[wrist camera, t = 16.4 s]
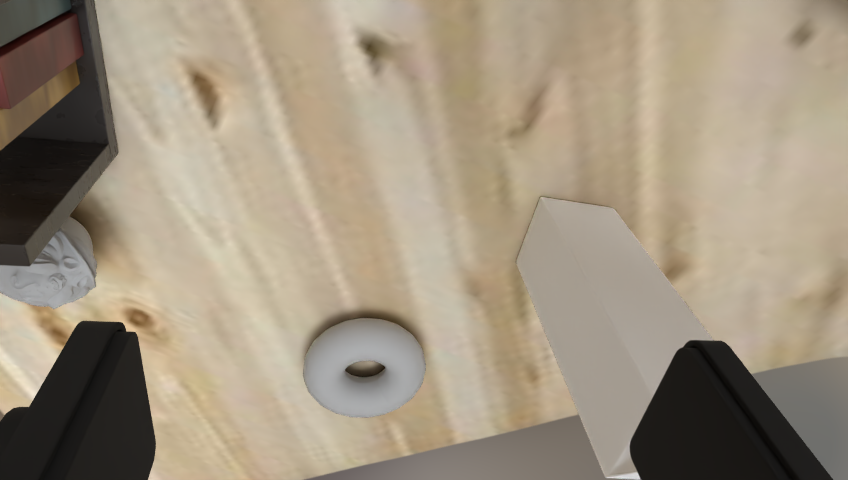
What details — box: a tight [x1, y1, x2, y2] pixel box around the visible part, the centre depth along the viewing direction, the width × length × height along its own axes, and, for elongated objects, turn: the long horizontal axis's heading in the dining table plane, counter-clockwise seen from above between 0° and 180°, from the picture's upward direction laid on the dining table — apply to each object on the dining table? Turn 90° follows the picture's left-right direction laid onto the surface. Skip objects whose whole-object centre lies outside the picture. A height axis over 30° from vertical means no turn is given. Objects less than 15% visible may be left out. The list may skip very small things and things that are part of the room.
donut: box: [303, 318, 426, 418], centre depth 47 cm, size 10×4×10 cm
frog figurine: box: [0, 217, 97, 309], centre depth 36 cm, size 6×7×7 cm
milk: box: [516, 197, 714, 479], centre depth 35 cm, size 6×6×22 cm
